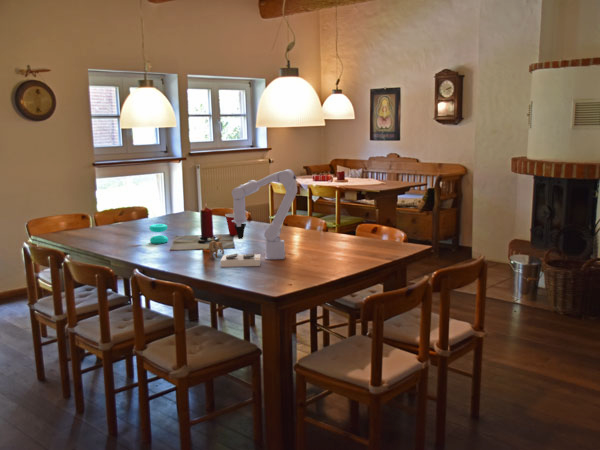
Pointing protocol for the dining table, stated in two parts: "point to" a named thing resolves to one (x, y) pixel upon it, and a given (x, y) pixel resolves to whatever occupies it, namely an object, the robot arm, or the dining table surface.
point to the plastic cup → (231, 224)
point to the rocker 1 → (231, 256)
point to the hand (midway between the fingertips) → (240, 238)
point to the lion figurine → (215, 248)
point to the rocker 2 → (249, 256)
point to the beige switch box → (241, 261)
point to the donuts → (159, 238)
